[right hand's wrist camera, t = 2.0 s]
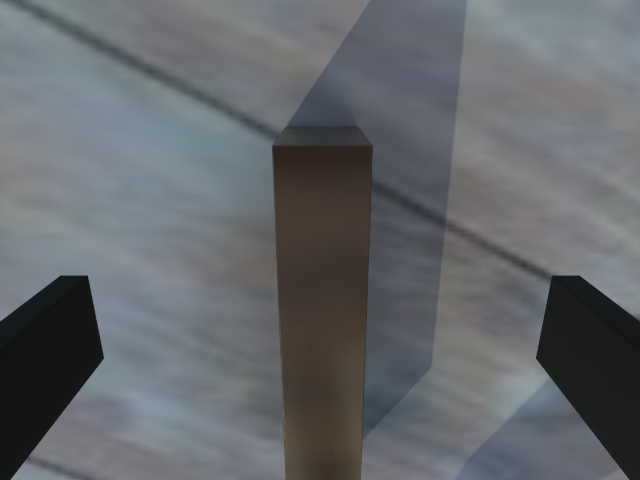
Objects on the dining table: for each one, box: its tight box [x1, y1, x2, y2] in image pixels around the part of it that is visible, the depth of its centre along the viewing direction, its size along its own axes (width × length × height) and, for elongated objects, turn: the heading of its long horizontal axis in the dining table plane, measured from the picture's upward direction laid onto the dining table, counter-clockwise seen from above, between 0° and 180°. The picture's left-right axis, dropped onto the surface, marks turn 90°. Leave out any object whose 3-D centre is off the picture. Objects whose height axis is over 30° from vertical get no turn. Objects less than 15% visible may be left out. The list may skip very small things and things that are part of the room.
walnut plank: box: [272, 127, 373, 480], centre depth 28 cm, size 26×4×8 cm, turn 0°
